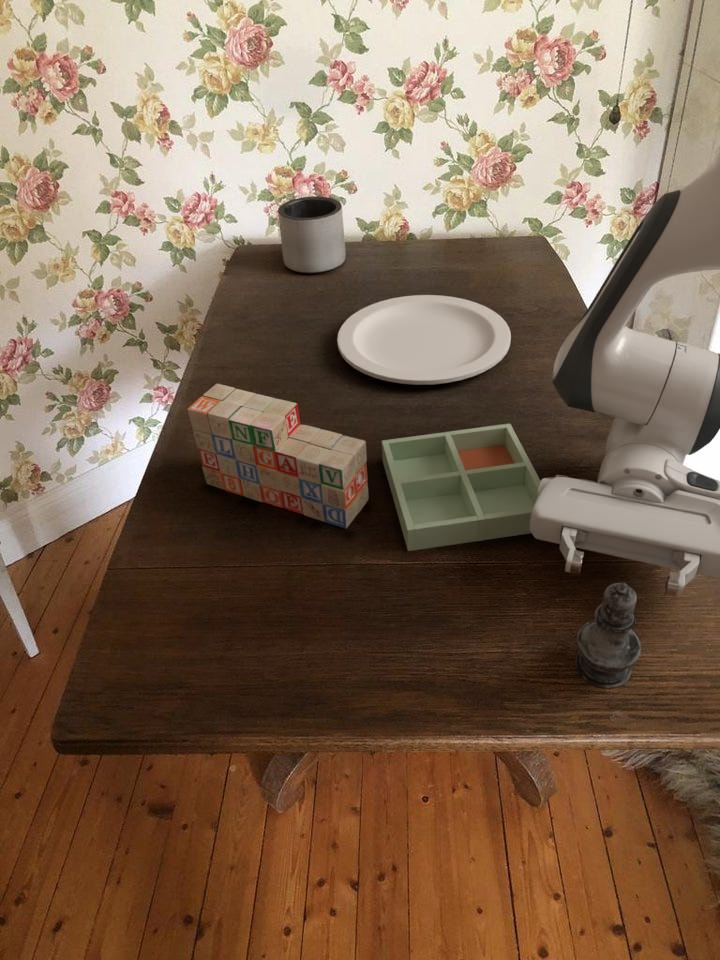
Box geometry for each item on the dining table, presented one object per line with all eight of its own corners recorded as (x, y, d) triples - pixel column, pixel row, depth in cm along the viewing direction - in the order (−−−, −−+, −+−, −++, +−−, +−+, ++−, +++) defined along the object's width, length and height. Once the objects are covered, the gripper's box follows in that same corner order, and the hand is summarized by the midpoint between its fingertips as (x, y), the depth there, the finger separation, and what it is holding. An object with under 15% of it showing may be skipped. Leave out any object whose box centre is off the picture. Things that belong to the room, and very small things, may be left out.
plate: (305, 344, 126) (303, 331, 125) (430, 292, 138) (430, 280, 137) (413, 415, 108) (413, 402, 107) (546, 348, 121) (548, 335, 119)
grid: (508, 443, 102) (510, 423, 100) (552, 530, 89) (555, 508, 87) (382, 460, 101) (381, 440, 99) (407, 551, 88) (407, 530, 85)
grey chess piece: (560, 654, 75) (575, 572, 68) (607, 633, 77) (628, 550, 69) (598, 700, 71) (619, 617, 63) (647, 676, 73) (673, 593, 65)
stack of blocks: (370, 499, 95) (365, 419, 87) (346, 530, 91) (339, 450, 83) (232, 457, 103) (216, 381, 95) (204, 484, 99) (185, 406, 91)
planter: (300, 281, 145) (294, 224, 138) (274, 259, 154) (266, 205, 146) (357, 265, 149) (354, 209, 142) (328, 244, 158) (324, 191, 151)
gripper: (545, 451, 84) (517, 533, 74) (745, 487, 77) (744, 582, 67) (539, 494, 88) (513, 577, 78) (730, 532, 81) (726, 628, 71)
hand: (622, 580), depth 73 cm, fingers open, 8 cm apart
